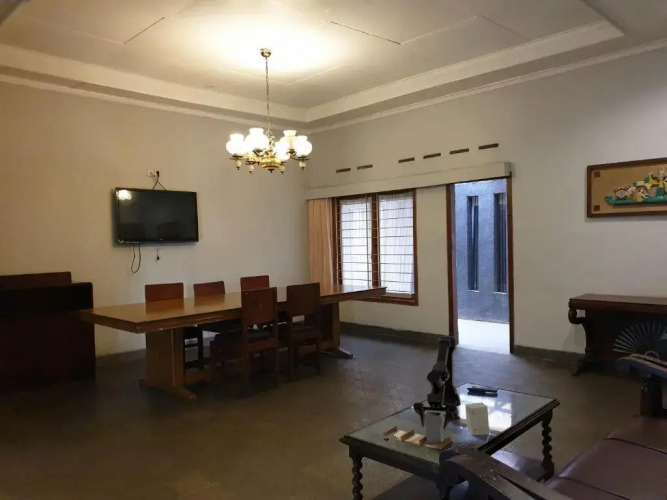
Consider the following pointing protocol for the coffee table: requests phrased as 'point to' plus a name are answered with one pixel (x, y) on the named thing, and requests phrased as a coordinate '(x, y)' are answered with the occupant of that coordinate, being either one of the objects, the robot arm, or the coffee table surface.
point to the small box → (477, 418)
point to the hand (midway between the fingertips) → (433, 427)
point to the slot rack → (415, 438)
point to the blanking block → (433, 428)
